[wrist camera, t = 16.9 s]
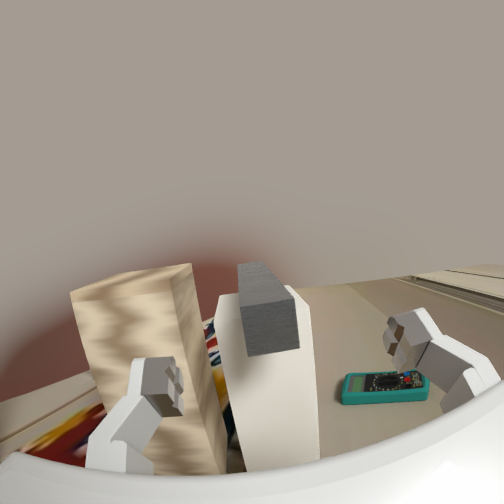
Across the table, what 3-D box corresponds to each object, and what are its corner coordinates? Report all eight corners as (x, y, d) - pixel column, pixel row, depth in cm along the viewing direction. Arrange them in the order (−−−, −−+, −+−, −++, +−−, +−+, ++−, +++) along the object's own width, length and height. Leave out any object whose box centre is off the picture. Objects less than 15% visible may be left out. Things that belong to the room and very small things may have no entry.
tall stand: (146, 491, 25) (69, 292, 23) (163, 438, 37) (116, 273, 35) (226, 492, 26) (169, 279, 24) (227, 435, 38) (191, 263, 35)
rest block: (252, 490, 26) (213, 321, 24) (248, 441, 36) (219, 295, 34) (320, 478, 26) (309, 306, 24) (304, 431, 36) (288, 284, 34)
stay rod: (247, 357, 16) (239, 307, 16) (241, 288, 36) (237, 264, 36) (300, 348, 16) (294, 298, 16) (265, 285, 36) (262, 260, 36)
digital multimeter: (430, 402, 35) (432, 387, 35) (339, 407, 41) (339, 393, 41) (425, 379, 42) (426, 365, 41) (345, 384, 48) (345, 370, 47)
